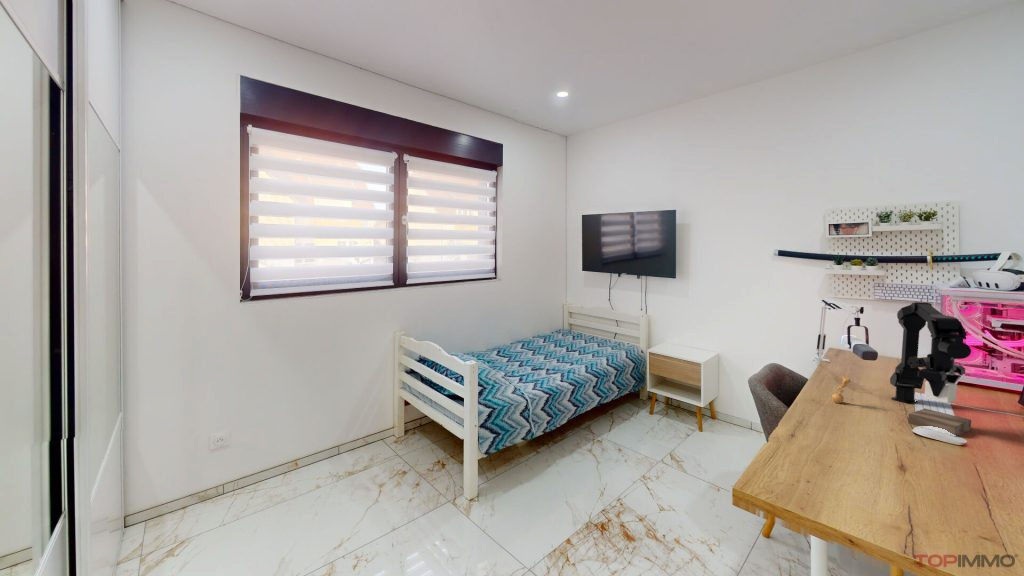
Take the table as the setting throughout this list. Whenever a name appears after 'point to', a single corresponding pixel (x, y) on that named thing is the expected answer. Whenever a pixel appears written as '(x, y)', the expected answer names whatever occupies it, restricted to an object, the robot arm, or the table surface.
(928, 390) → the off-white cube
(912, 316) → the robot arm
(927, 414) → the walnut slab
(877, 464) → the table surface
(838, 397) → the figurine
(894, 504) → the table surface
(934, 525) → the table surface
